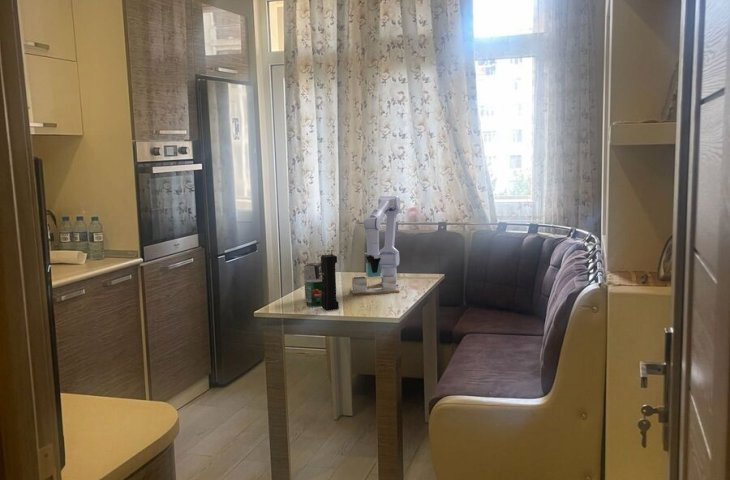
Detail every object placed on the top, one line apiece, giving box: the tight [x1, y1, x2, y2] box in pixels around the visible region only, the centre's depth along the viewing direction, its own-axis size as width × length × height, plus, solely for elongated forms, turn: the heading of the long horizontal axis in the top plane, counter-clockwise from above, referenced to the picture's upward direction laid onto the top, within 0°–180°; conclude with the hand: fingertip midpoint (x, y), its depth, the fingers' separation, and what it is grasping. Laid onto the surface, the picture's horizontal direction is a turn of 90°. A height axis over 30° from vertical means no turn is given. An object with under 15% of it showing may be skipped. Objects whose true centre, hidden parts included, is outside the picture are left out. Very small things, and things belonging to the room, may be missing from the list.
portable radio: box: [320, 249, 340, 312], centre depth 288 cm, size 8×6×25 cm
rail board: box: [349, 275, 400, 297], centre depth 322 cm, size 9×22×8 cm, turn 100°
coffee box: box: [303, 262, 322, 302], centre depth 310 cm, size 9×6×16 cm
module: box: [365, 262, 381, 278], centre depth 322 cm, size 4×6×6 cm
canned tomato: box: [304, 279, 322, 308], centre depth 297 cm, size 8×8×11 cm
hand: (373, 271), depth 322 cm, fingers closed on module, 4 cm apart
